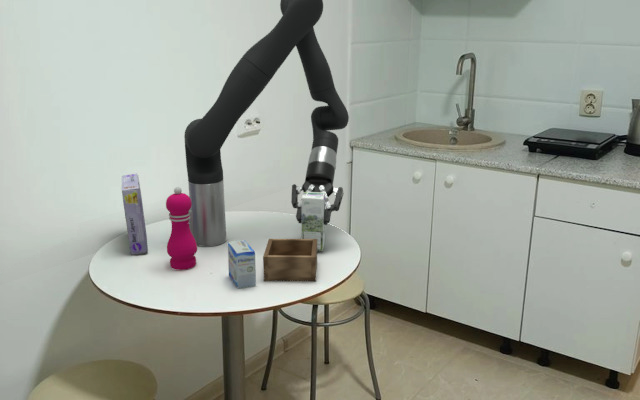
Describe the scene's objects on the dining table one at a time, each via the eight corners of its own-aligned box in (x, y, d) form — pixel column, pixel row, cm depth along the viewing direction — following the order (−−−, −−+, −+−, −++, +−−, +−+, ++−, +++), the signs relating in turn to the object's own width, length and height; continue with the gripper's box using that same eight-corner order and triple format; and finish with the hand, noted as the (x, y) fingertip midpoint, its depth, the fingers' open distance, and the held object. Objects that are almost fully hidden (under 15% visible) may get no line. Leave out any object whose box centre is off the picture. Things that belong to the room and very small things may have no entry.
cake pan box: (127, 232, 168) (121, 172, 163) (145, 230, 170) (140, 171, 165) (128, 256, 151) (121, 190, 146) (148, 254, 152) (142, 188, 147)
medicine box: (228, 276, 139) (226, 241, 136) (246, 273, 141) (245, 239, 138) (237, 289, 132) (236, 253, 130) (256, 286, 134) (255, 250, 131)
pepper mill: (203, 261, 147) (198, 184, 142) (188, 272, 141) (182, 192, 135) (178, 258, 150) (172, 182, 144) (162, 268, 143) (155, 189, 137)
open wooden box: (263, 281, 136) (263, 256, 134) (269, 261, 148) (268, 238, 146) (315, 281, 136) (315, 257, 134) (317, 261, 147) (317, 238, 146)
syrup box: (325, 243, 158) (325, 191, 153) (323, 251, 152) (323, 197, 148) (303, 242, 158) (303, 190, 154) (301, 250, 153) (301, 197, 148)
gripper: (293, 158, 157) (282, 214, 149) (346, 161, 154) (338, 218, 147) (297, 173, 164) (287, 227, 156) (349, 175, 161) (341, 231, 153)
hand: (312, 222), depth 151 cm, fingers closed on syrup box, 6 cm apart
